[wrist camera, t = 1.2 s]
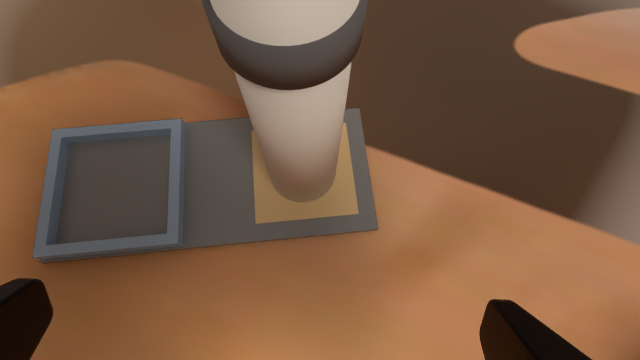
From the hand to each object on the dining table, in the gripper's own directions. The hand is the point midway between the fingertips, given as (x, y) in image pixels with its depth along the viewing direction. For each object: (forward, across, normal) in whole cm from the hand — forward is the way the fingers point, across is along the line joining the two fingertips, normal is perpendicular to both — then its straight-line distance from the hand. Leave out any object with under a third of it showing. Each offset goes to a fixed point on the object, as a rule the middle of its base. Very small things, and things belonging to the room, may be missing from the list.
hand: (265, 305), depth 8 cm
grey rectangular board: (+15, +6, +4) cm, 16 cm away
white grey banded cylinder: (+15, 0, +4) cm, 15 cm away
